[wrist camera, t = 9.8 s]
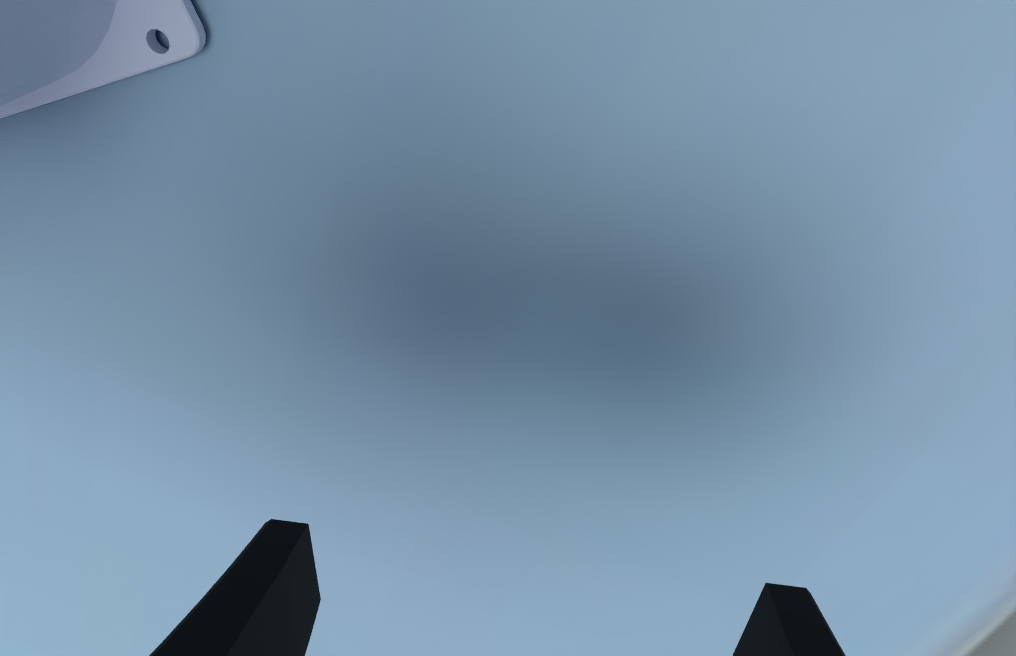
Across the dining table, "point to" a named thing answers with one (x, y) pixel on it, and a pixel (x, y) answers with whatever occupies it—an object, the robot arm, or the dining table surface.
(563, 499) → the dining table surface
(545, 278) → the dining table surface
